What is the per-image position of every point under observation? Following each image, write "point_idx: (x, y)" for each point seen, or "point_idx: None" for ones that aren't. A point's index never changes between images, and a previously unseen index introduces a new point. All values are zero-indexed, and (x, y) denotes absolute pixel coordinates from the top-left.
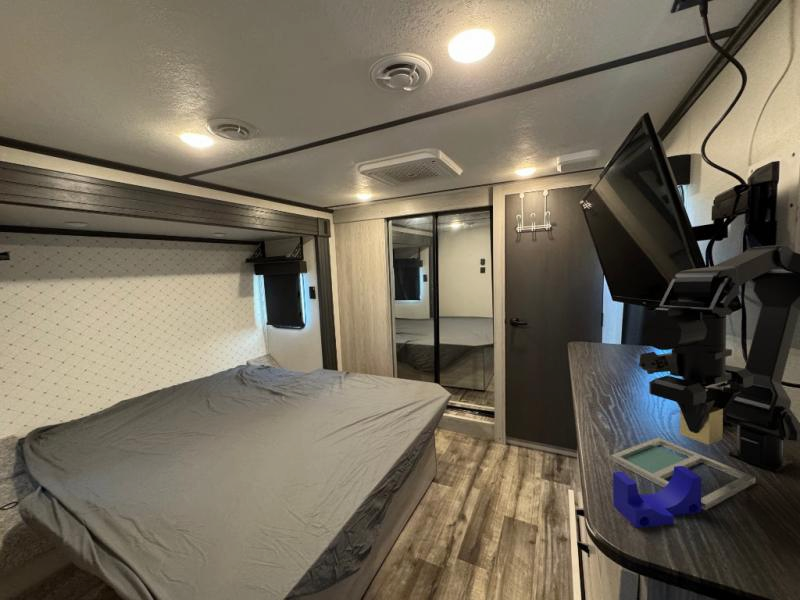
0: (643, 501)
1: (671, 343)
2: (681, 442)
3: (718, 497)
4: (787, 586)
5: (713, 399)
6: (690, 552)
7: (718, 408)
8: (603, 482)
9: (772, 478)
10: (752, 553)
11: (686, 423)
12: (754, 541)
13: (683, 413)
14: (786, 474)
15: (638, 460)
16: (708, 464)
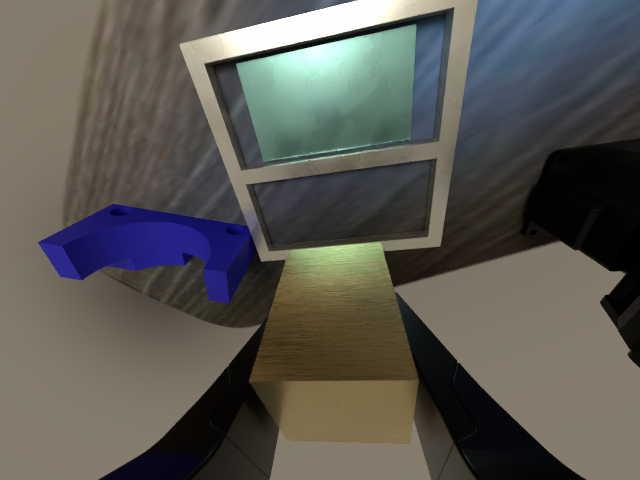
0: (129, 256)
1: None
2: (546, 24)
3: None
4: (242, 326)
5: (444, 476)
6: (179, 287)
7: (393, 438)
8: (119, 140)
9: (486, 241)
10: (250, 304)
11: (263, 322)
12: (271, 298)
13: (231, 368)
14: (532, 242)
15: (269, 89)
16: (432, 170)
